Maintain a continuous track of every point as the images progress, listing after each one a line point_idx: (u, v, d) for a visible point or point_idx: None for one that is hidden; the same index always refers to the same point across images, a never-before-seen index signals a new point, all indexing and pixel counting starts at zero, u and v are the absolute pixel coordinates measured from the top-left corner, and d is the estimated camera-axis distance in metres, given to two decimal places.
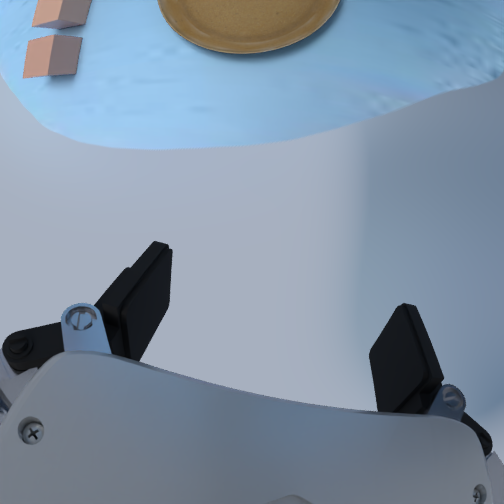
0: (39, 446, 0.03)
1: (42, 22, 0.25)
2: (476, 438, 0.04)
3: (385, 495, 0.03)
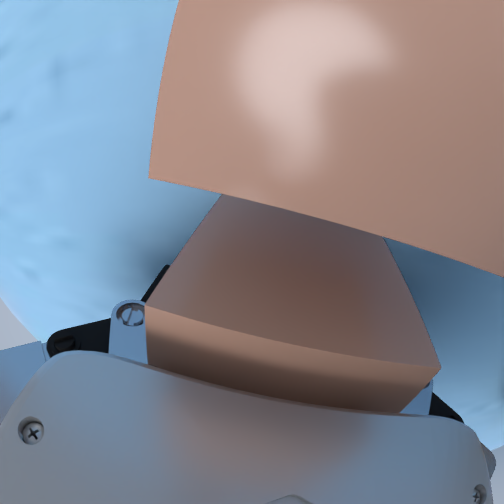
0: (39, 446, 0.03)
1: None
2: (476, 438, 0.04)
3: (385, 495, 0.03)
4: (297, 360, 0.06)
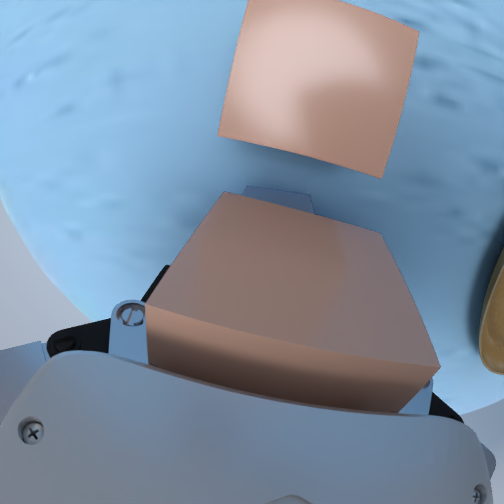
0: (39, 446, 0.03)
1: None
2: (476, 438, 0.04)
3: (385, 495, 0.03)
4: (297, 360, 0.06)
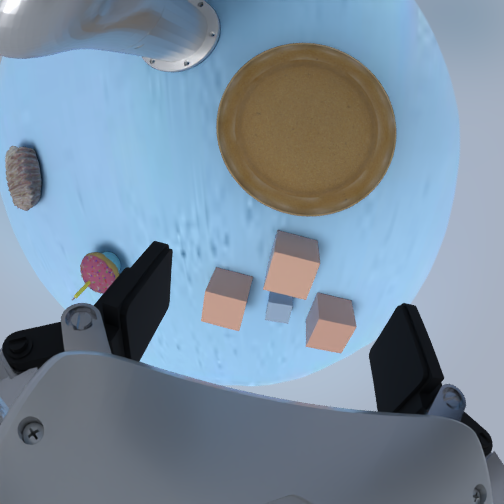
0: (39, 446, 0.03)
1: (282, 292, 0.43)
2: (476, 438, 0.04)
3: (385, 495, 0.03)
4: (295, 260, 0.41)
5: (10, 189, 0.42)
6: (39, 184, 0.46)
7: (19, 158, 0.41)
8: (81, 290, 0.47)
